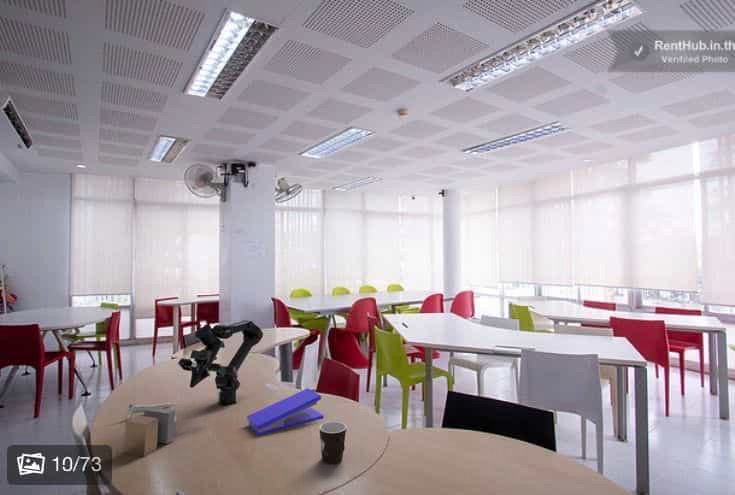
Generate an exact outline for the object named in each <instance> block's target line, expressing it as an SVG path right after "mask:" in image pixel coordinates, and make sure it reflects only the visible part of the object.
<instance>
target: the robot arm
mask: <svg viewBox="0 0 735 495" xmlns="http://www.w3.org/2000/svg"><path fill="white" fill-rule="evenodd" d="M240 332H241V334H242V337H243V341H242V343H241V345H240V346H239V347H238V349H237V351H236V352H235V354H234V356H233V357H232V358H231V360H230V361H229V363H228V364H227V365H226V366H223V364H222V363H215V362H214V361H217V359H218V357H217V355H218V353H219V351H220V350H221V348H222V349H224V348H225V347H226V345H225V342H224V341H223V340H228V339H229V338H231V337H233V335H234V334H237V333H240ZM194 335H195V338H196V339H197V340H198V342H200V343H201V344H202V345H203V346H204V348H203V349H201V350H197V349H196V350H194V349H192V351H191V352H190V353H191V354H190V356H189V358H185V357H182V358H180V359H179V361H178V362H177V365H178V366H180V368H181V369H182V370H183V371H187V372H191V375H190V376H191V377H190V381H189V382H190V383H189V387H190V389H193V388H195V387H196V386H197V385H199V383H201V382H202V381H203V380H205V379H206V378H208V377H211V373H212V372H215V374H216V376H215V378H214V382H215V386H216V389H217V390H219V391H218V394H217V402H218V403H219V404H220V405H221V407H223V406H228V405H233V404H237V403H238V401H237V400H236V399H237V398H236V396H237V390H238V389H239V388H240V386H241V382H240V381H239V380H238V377H239V376H238V375H239V374H238V371H239V370H240V368H241V366H242V365H243V362H244V361H245V360H246V358H247V356H248V354H249V353H250V351H251V349H252V348H253V347H255V346H256V345H258V344H259V343H260V342H261V340H262V339H263V337H264V333H263V331H262V329H261V328H260V327H259V326H257V325H256V324H255V323H254V321H252V320H248V319H247V320H245V319H244V320H241V321H237V322H234V323H231V324H215V325H214V326H213V327H211V325H210V324H204V325H203V326H202V327H200V328H199V329H197V330H196V332H195V333H194ZM221 339H222V340H221ZM192 359H194V360H193V361H194V362H193V361H192Z"/></svg>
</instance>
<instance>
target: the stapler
mask: <svg viewBox="0 0 735 495" xmlns="http://www.w3.org/2000/svg"><path fill="white" fill-rule="evenodd" d="M320 400H322V395H321V394H319V393H317V392H315V391H314V390H311V389H310V388H309V387H307V388H305V389H303V390H301V391H299V392H297V393H294V394H292V395H290V396H288V397H286V398H284V399H281V400H279V401H277V402H275V403H272V404H270V405H268V406H266V407H264V408H262V409H259V410H257V411H256V412H254V413H251V414H249V415H247V416H246V419H247V422H248V427H249V428H250V429H251V430H252V431H253V432H254V433H255V434H257V435H258V436H261V435H265V434H268V433H272V432H275V431H276V432H277V431H280V430H283V429H287V428H290V427H294V426H298V425H302V424H305V423H308V422H313V421H316V420H320V419H324V414H322V413H321V412H319V411H318V410H315V409H314V408H312V407H314V406H316V405H318V401H320Z"/></svg>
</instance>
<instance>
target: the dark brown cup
mask: <svg viewBox="0 0 735 495" xmlns="http://www.w3.org/2000/svg"><path fill="white" fill-rule="evenodd" d="M318 427H319V437H320V438H319V439H320V450H321V460H322V462H323V463H325V464H326V465H337V464H340V463H341V462H342V461H343V456H344V451H345V446H346V445H345V441H346V435H347V425H346V424H345V423H344V422H339V421H327V422H323V423H322V424H320V425H319V426H318Z"/></svg>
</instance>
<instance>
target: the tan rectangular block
mask: <svg viewBox="0 0 735 495" xmlns="http://www.w3.org/2000/svg"><path fill="white" fill-rule="evenodd" d="M176 421H177V415H176V414H175V422H176ZM124 425H125V426H124V428H125V429H124V442H123V443H124V445H123V454H126V453H127V455H132V456H138V457H146V456H148V455H150V454H151V453H154V452H155V451H156V450H158V442H157V435H158V430H159V423H158V418H152V417H145V416H144V415H135V416H134V418H132V419H130V418H129V420H125V424H124Z"/></svg>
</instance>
